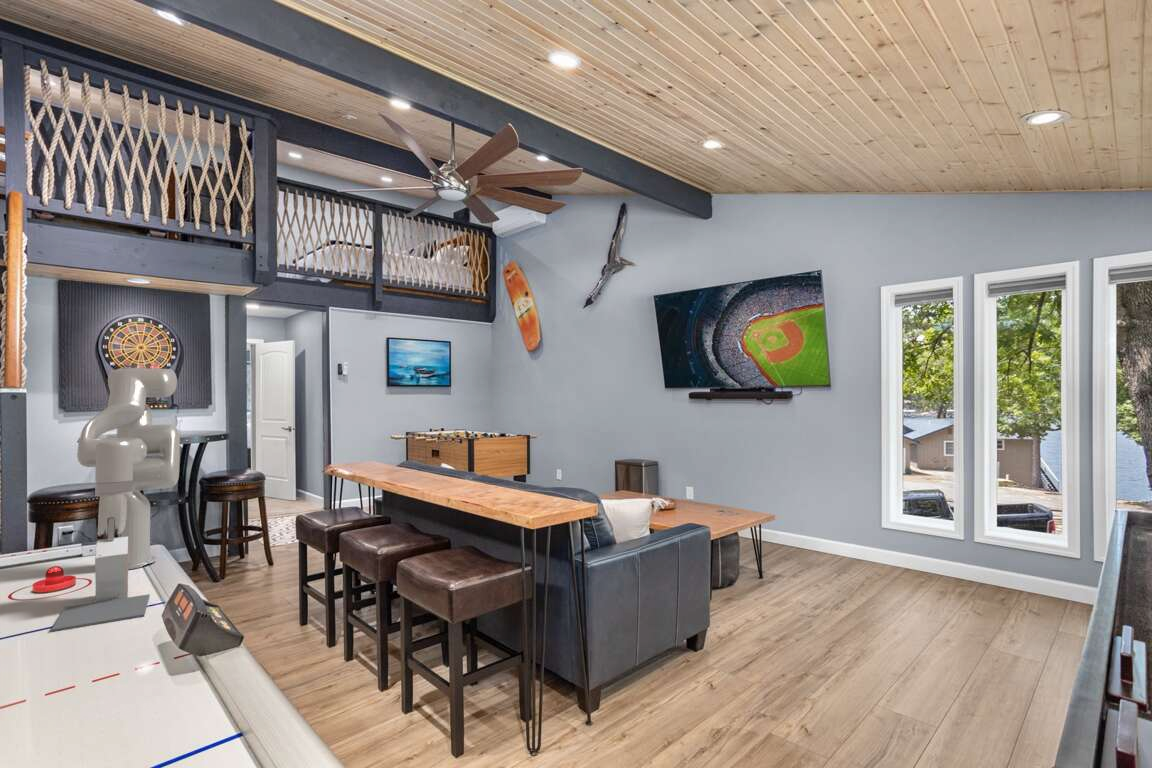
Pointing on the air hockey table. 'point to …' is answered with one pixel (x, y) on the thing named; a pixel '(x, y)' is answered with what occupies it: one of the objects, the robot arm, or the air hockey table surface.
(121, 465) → the robot arm
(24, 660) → the air hockey table surface
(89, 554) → the air hockey table surface
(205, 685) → the air hockey table surface
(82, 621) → the mat
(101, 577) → the small box
